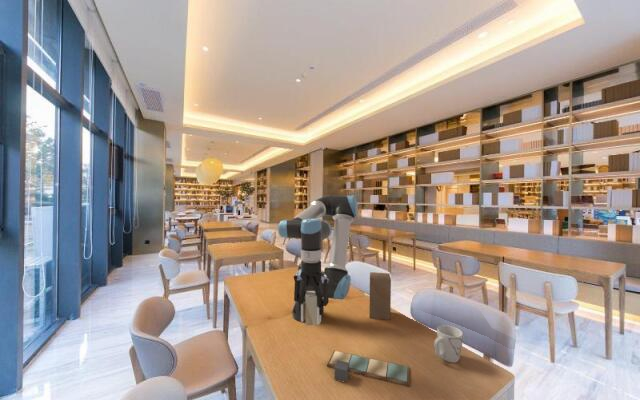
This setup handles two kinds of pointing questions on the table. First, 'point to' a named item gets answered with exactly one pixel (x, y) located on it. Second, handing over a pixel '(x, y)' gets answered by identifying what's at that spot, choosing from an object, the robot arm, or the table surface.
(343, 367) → the cube
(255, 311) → the table surface
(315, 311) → the box
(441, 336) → the mug
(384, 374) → the track
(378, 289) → the wooden block
